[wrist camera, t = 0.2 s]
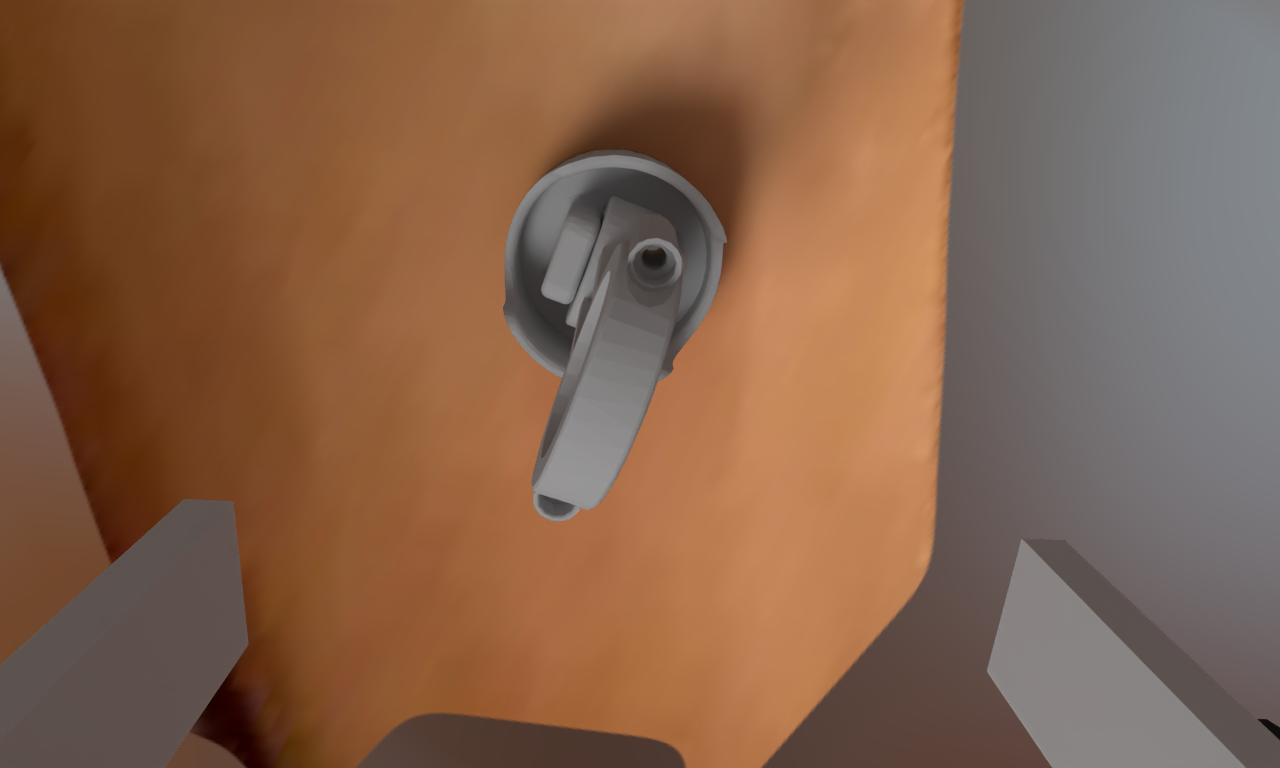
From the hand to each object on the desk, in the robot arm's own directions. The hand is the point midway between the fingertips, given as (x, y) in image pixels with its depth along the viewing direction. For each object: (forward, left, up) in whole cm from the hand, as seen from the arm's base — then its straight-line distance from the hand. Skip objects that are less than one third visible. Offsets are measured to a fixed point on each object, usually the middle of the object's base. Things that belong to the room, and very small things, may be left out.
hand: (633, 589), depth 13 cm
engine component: (-1, 0, -28) cm, 28 cm away
